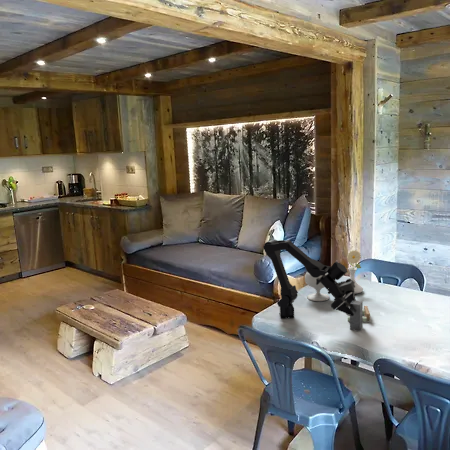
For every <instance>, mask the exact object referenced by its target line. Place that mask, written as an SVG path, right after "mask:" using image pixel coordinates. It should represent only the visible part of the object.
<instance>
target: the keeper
mask: <svg viewBox="0 0 450 450" xmlns="http://www.w3.org/2000/svg"><path fill="white" fill-rule="evenodd" d="M363 315H364V317H363V323H366V322H367V323H370V322H371V312H370V310H369V306H367V305H363ZM347 322H350V316H347Z"/></svg>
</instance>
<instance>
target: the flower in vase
mask: <svg viewBox="0 0 450 450" xmlns="http://www.w3.org/2000/svg"><path fill="white" fill-rule="evenodd" d="M346 256H347V261H346V262H348V264H349V265H350V267H348V268H347V271H349V274H350V278H349V279H351V280H353V281H354V282H355V283H354V285H355V288H354V289H355V290H354V291H355V292H354V293H355V295H356V294H360V293H362V292H363V291H364V287H363V286H362V285H361V284H359V283H358V282H356V279H355V278H356V277H355V275H356V271H357V270H358V269H362V266H361V264H360V263H358V262H359V261H360V260H361V253H360V252H359V251H358V250H357V249H355V250H353V249H352V250H351V251H349V252H348V253H347V255H346ZM354 264H355V265H354Z"/></svg>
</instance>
